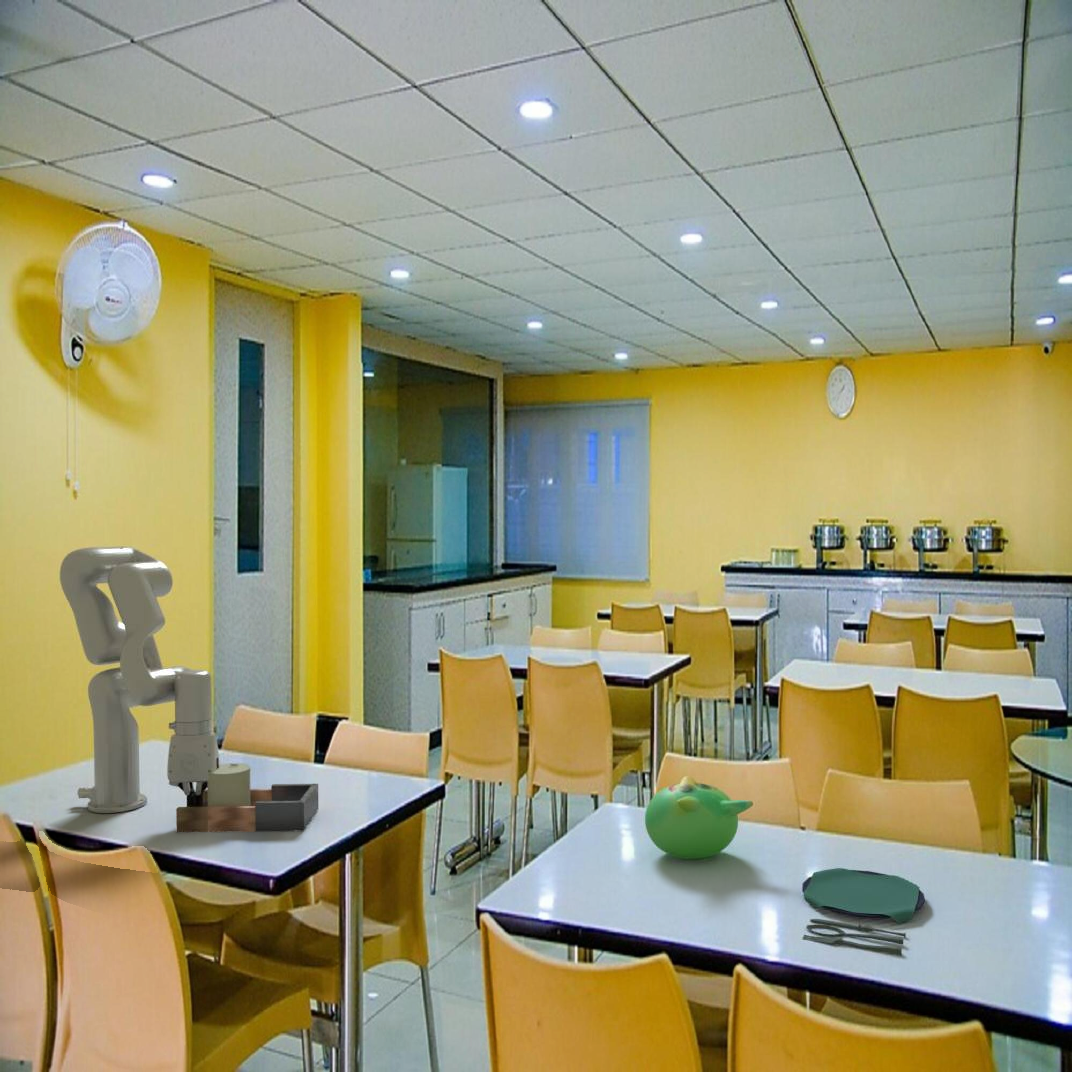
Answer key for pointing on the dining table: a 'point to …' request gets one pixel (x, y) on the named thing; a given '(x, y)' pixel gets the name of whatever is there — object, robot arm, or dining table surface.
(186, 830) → the channel
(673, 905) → the dining table surface
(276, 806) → the box
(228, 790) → the can
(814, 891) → the cutlery set
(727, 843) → the toy bird
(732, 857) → the dining table surface
